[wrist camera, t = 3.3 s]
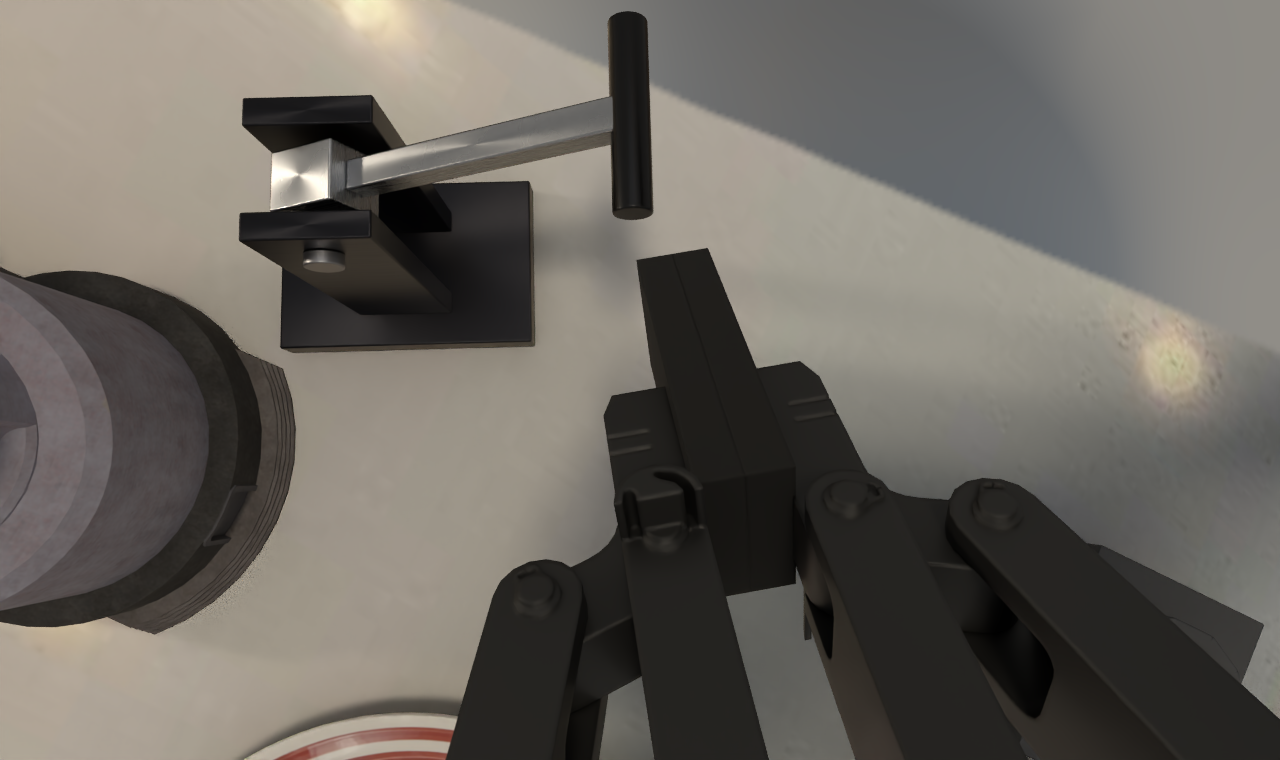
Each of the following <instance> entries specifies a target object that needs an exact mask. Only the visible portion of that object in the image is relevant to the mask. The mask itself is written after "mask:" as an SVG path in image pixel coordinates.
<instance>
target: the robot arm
mask: <svg viewBox="0 0 1280 760" xmlns="http://www.w3.org/2000/svg"><path fill="white" fill-rule="evenodd" d="M637 267H638V275H639V282H640V289H641V296H642V304H643V311H644V318H645V326H646V333H647V340H648V348H649V355H650V362H651V367H652V372H653V376H654V380H655V384H656V388H653V389H647V390H642V391H636V392H630V393H625V394H619V395H613V396H612V397H611V399H610V402H609V404H608V406H607V409H606V411H605V413H604V422H605V429H606V435H607V442H608V449H609V455H610V462H611V469H612V475H613V482H614V489H615V498H614V507H615V512H616V517H617V522H618V526H617V529H616V532H615V535H614V536H613V538H612V539H611V541H610V542H609V544H608V545H607V546H606V547H604V548H603V549H602V550H601V551H600V552H599V553H597V554H596V555H594V556H592V557H591V558H589V559H587V560H585V561H583V562H581V563H579V564H577V565H575V566H573V567H571V568H570V567H569V566H567V565H566V564H564V563H562V562H558V561H553V560H547V559H545V560H538V561H532V562H528V563H526V564H524V565H521V566H519V567H517V568H515V569H513V570H512V571H511V572H510V573H509V574H508V575H507V576H506V577H504V578H503V579H502V580H501V581H500V583H499V585H498V587H497V589H496V591H495V593H494V595H493V598H492V601H491V605H490V608H489V612H488V615H487V618H486V622H485V625H484V629H483V632H482V636H481V639H480V642H479V646H478V649H477V653H476V656H475V660H474V663H473V667H472V670H471V673H470V677H469V680H468V684H467V687H466V691H465V694H464V698H463V701H462V704H461V708H460V711H459V715H458V718H457V722H456V725H455V728H454V732H453V735H452V739H451V742H450V746H449V749H448V753H447V756H446V759H445V760H599V755H600V748H601V741H602V735H603V728H604V721H605V714H606V707H607V700H608V694H609V693H611V692H613V691H615V690H617V689H619V688H621V687H622V686H624V685H626V684H628V683H630V682H632V681H634V680H635V679H637V678H639V677H641V676H642V681H643V687H644V694H645V700H646V707H647V714H648V720H649V727H650V733H651V740H652V746H653V753H654V759H655V760H769V758H768V754H767V750H766V746H765V743H764V739H763V735H762V731H761V728H760V724H759V720H758V716H757V712H756V709H755V705H754V701H753V697H752V693H751V690H750V686H749V682H748V678H747V675H746V671H745V667H744V663H743V659H742V656H741V652H740V648H739V644H738V641H737V637H736V633H735V629H734V625H733V622H732V618H731V614H730V610H729V607H728V603H727V599H726V596H731V595H736V594H741V593H747V592H752V591H758V590H763V589H769V588H774V587H780V586H785V585H791V584H796V567H797V570H798V573H799V575H800V578H801V581H802V584H803V587H804V638H805V640H809V639H811V634H813V637H814V640H815V643H816V645H817V648H818V651H819V654H820V657H821V660H822V663H823V666H824V669H825V672H826V675H827V678H828V680H829V683H830V686H831V689H832V692H833V695H834V698H835V701H836V704H837V707H838V710H839V712H840V715H841V718H842V721H843V724H844V727H845V730H846V733H847V736H848V739H849V742H850V744H851V747H852V750H853V753H854V756H855V759H856V760H1028V758H1027V756H1026V755H1025V753H1024V751H1023V749H1022V747H1021V745H1020V743H1019V741H1018V739H1017V737H1016V735H1015V733H1014V731H1013V729H1012V727H1011V725H1010V723H1009V721H1010V722H1011V723H1012V725H1013V726H1014V727H1015V728H1016V730H1017V731H1018V732H1019V733H1020V735H1021V736H1022V737H1023V738H1024V740H1025V741H1026V742H1027V743H1028V744H1029V746H1030V747H1031V748H1032V749H1033V751H1034V752H1035V753H1036V754H1037V756H1038V757H1039V758H1040V759H1041V760H1280V719H1279V718H1278V717H1277V716H1276V715H1274V714H1273V713H1272V712H1271V711H1270V710H1269V709H1268V708H1267V707H1266V706H1265V705H1263V704H1262V703H1261V702H1260V701H1259V700H1258V699H1257V698H1256V697H1255V696H1254V695H1253V694H1251V693H1250V692H1249V691H1248V690H1247V689H1246V688H1245V687H1244V686H1243V685H1242V684H1240V683H1239V682H1238V681H1237V680H1236V679H1235V678H1234V677H1233V676H1232V675H1231V674H1229V673H1228V672H1227V671H1226V670H1225V669H1224V668H1223V667H1222V666H1221V665H1220V664H1219V663H1217V662H1216V661H1215V660H1214V659H1213V658H1212V657H1211V656H1210V655H1209V654H1208V653H1206V652H1205V651H1204V650H1203V649H1202V648H1201V647H1200V646H1199V645H1198V644H1197V643H1195V642H1194V641H1193V640H1192V639H1191V638H1190V637H1189V636H1188V635H1187V634H1186V633H1185V632H1183V631H1182V630H1181V629H1180V628H1179V627H1178V626H1177V625H1176V624H1175V623H1174V622H1172V621H1171V620H1170V619H1169V618H1168V617H1167V616H1166V615H1165V614H1164V613H1163V612H1161V611H1160V610H1159V609H1158V608H1157V607H1156V606H1155V605H1154V604H1153V603H1152V602H1151V601H1149V600H1148V599H1147V598H1146V597H1145V596H1144V595H1143V594H1142V593H1141V592H1140V591H1138V590H1137V589H1136V588H1135V587H1134V586H1133V585H1132V584H1131V583H1130V582H1129V581H1127V580H1126V579H1125V578H1124V577H1123V576H1122V575H1121V574H1120V573H1119V572H1118V571H1116V570H1115V569H1114V568H1113V567H1112V566H1111V565H1110V564H1109V563H1108V562H1107V561H1106V560H1104V559H1103V558H1102V557H1101V556H1100V555H1099V554H1098V553H1097V552H1096V551H1095V550H1093V549H1092V548H1091V547H1090V546H1089V545H1088V544H1087V543H1086V542H1085V541H1084V540H1082V539H1081V538H1080V537H1079V536H1078V535H1077V534H1076V533H1075V532H1074V531H1073V530H1072V529H1070V528H1069V527H1068V526H1067V525H1066V524H1065V523H1064V522H1063V521H1062V520H1061V519H1059V518H1058V517H1057V516H1056V515H1055V514H1054V513H1053V512H1052V511H1051V510H1050V509H1048V508H1047V507H1046V506H1045V505H1044V504H1043V503H1042V502H1041V501H1040V500H1039V499H1038V498H1036V497H1035V496H1034V495H1033V494H1031V493H1030V492H1028V491H1027V490H1025V489H1024V488H1022V487H1021V486H1019V485H1017V484H1014V483H1011V482H1008V481H1005V480H1002V479H990V478H981V479H976V480H971V481H967V482H965V483H964V484H962V485H961V486H959V487H958V488H956V489H955V490H954V492H953V494H952V496H951V498H950V499H949V500H942V499H929V498H917V497H911V496H905V495H902V494H899V493H896V492H893V491H890V490H889V489H888V488H887V487H886V485H885V484H884V483H883V482H882V481H881V480H879V479H877V478H876V477H874V476H872V475H871V474H869V473H868V472H867V470H866V469H865V467H864V465H863V463H862V461H861V459H860V457H859V455H858V453H857V451H856V449H855V447H854V445H853V443H852V441H851V439H850V437H849V435H848V433H847V431H846V429H845V427H844V425H843V423H842V421H841V419H840V417H839V415H838V414H837V413H836V409H835V407H834V405H833V403H832V401H831V399H829V395H828V393H827V391H826V389H825V387H824V385H823V383H822V381H821V379H820V377H819V376H818V375H817V374H816V373H814V372H813V371H812V370H811V369H809V368H808V367H807V366H805V365H804V364H803V363H801V362H800V361H798V362H792V363H786V364H780V365H775V366H769V367H763V368H757V369H756V366H755V364H754V361H753V359H752V356H751V354H750V351H749V349H748V346H747V344H746V341H745V339H744V336H743V334H742V331H741V329H740V326H739V324H738V322H737V319H736V317H735V314H734V312H733V309H732V307H731V304H730V302H729V299H728V297H727V294H726V292H725V289H724V287H723V284H722V282H721V279H720V277H719V275H718V272H717V270H716V267H715V265H714V262H713V260H712V257H711V255H710V252H709V250H708V248H705V249H699V250H693V251H687V252H681V253H676V254H670V255H664V256H658V257H652V258H646V259H640V260H637ZM1008 720H1009V721H1008Z"/></svg>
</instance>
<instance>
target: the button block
mask: <svg viewBox="0 0 1280 760" xmlns="http://www.w3.org/2000/svg"><path fill="white" fill-rule="evenodd" d="M1088 545H1089V546H1090V547H1091V548H1092V549H1093V550H1095V551H1096V552H1097V553H1098V554H1099V555H1100V556H1101V557H1102V558H1103V559H1104V560H1106V561H1107V562H1108V563H1109V564H1110V565H1111V566H1112V567H1113V568H1114V569H1115V570H1116V571H1118V572H1119V573H1120V574H1121V575H1122V576H1123V577H1124V578H1125V579H1126V580H1127V581H1129V582H1130V583H1131V584H1132V585H1133V586H1134V587H1135V588H1136V589H1137V590H1138V591H1140V592H1141V593H1142V594H1143V595H1144V596H1145V597H1146V598H1147V599H1148V600H1149V601H1151V602H1152V603H1153V604H1154V605H1155V606H1156V607H1157V608H1158V609H1159V610H1160V611H1161V612H1163V613H1164V614H1165V615H1166V616H1167V617H1168V618H1169V619H1170V620H1171V621H1172V622H1174V623H1175V624H1176V625H1177V626H1178V627H1179V628H1180V629H1181V630H1182V631H1183V632H1185V633H1186V634H1187V635H1188V636H1189V637H1190V638H1191V639H1192V640H1193V641H1194V642H1195V643H1197V644H1198V645H1199V646H1200V647H1201V648H1202V649H1203V650H1204V651H1205V652H1206V653H1208V654H1209V655H1210V656H1211V657H1212V658H1213V659H1214V660H1215V661H1216V662H1217V663H1219V664H1220V665H1221V666H1222V667H1223V668H1224V669H1225V670H1226V671H1227V672H1228V673H1229V674H1231V675H1232V676H1233V677H1234V678H1235V679H1236V680H1237V681H1238V682H1239V683H1240V684H1241V683H1242V680H1243V678H1244V675H1245V673H1246V670H1247V667H1248V665H1249V662H1250V660H1251V657H1252V655H1253V652H1254V649H1255V647H1256V644H1257V642H1258V639H1259V637H1260V634H1261V631H1262V629H1263V626H1264V625H1263V624H1262V623H1260V622H1258V621H1256V620H1254V619H1252V618H1250V617H1248V616H1246V615H1244V614H1242V613H1240V612H1237V611H1235V610H1233V609H1231V608H1229V607H1227V606H1225V605H1223V604H1221V603H1219V602H1217V601H1215V600H1213V599H1211V598H1209V597H1207V596H1205V595H1203V594H1201V593H1199V592H1197V591H1194V590H1192V589H1190V588H1188V587H1186V586H1184V585H1182V584H1180V583H1178V582H1176V581H1174V580H1172V579H1170V578H1168V577H1166V576H1164V575H1162V574H1160V573H1158V572H1156V571H1154V570H1151V569H1149V568H1147V567H1145V566H1143V565H1141V564H1139V563H1137V562H1135V561H1133V560H1131V559H1129V558H1127V557H1125V556H1123V555H1121V554H1119V553H1117V552H1115V551H1113V550H1111V549H1108V548H1106V547H1104V546H1102V545H1095V544H1088ZM1008 721H1009V720H1008ZM1009 723H1010V725H1011V727H1012V729H1013V731H1014V733H1015V735H1016V737H1017V739H1018V741H1019V743H1020V745H1021V747H1022V749H1023V751H1024V753H1025V755H1026V756H1028V757H1030V758H1032V759H1034V760H1041V759H1040V758H1039V757H1038V756H1037V754H1036V753H1035V752H1034V751H1033V749H1032V748H1031V747H1030V746H1029V744H1028V743H1027V742H1026V741H1025V740H1024V738H1023V737H1022V736H1021V735H1020V733H1019V732H1018V731H1017V730H1016V728H1015V727H1014V726H1013V725H1012V723H1011V722H1010V721H1009Z"/></svg>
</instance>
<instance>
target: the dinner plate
mask: <svg viewBox="0 0 1280 760" xmlns="http://www.w3.org/2000/svg"><path fill="white" fill-rule="evenodd" d="M457 718H458V716H454V715H446V714H436V713H409V712H401V713H385V714H375V715H367V716H360V717H355V718H350V719H345V720H341V721H337V722H332V723H328V724H324V725H321V726H317V727H314V728H311V729H308V730H305V731H303V732H300V733H297V734H295V735H292V736H290V737H287V738H285V739H283V740H280V741H278V742H276V743H274V744H272V745H270V746H267V747H265V748H263V749H261V750H260V751H258V752H256V753H254V754H252V755H251V756H249V757H247V758H245V759H244V760H445V759H446V756H447V753H448V749H449V746H450V742H451V739H452V735H453V732H454V728H455V725H456V722H457Z"/></svg>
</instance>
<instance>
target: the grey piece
mask: <svg viewBox="0 0 1280 760" xmlns="http://www.w3.org/2000/svg"><path fill="white" fill-rule="evenodd" d="M294 452H295V422H294V414H293V407H292V399H291V395H290V392H289V389H288V385H287V382H286V379H285V375H284V372H283V369H281V368H279V367H277V366H275V365H272V364H270V363H268V362H265V361H263V360H261V359H259V358H256V357H254V356H252V355H249V354H247V353H245V352H243V351H240V350H239V349H238V347H237V346H236V345H235V344H234V343H233V341H232V340H231V339H230V338H229V337H228V335H227V334H226V333H225V332H224V331H223V330H222V328H220V327H219V326H218V325H217V324H215V323H214V322H213V321H212V320H210V319H209V318H208V317H207V316H205V315H204V314H203V313H202V312H201V311H199V310H197V309H195V308H193V307H192V306H190V305H188V304H186V303H184V302H182V301H180V300H178V299H176V298H175V297H172V296H169V295H167V294H164V293H162V292H159V291H156V290H154V289H151V288H149V287H146V286H143V285H141V284H138V283H136V282H133V281H130V280H128V279H125V278H122V277H118V276H113V275H108V274H103V273H98V272H86V271H61V272H51V273H42V274H37V275H34V276H30V277H26V278H23V277H21V276H18V275H16V274H14V273H12V272H9V271H7V270H5V269H2V268H0V622H4V623H10V624H15V625H21V626H26V627H59V626H66V625H74V624H81V623H86V622H90V621H93V620H97V619H101V618H105V617H108V618H111V619H113V620H115V621H117V622H119V623H122V624H124V625H126V626H128V627H130V628H131V627H133V628H135V629H139V630H141V631H146V632H148V633H152V634H157V633H159V632H161V631H163V630H165V629H167V628H170V627H172V626H174V625H176V624H178V623H180V622H183V621H185V620H187V619H188V618H190V617H191V616H193V615H194V614H196V613H197V612H199V611H200V610H202V609H203V608H205V607H206V606H208V605H209V604H211V603H212V602H214V601H215V600H216V599H217V598H218V597H219V596H220V595H221V594H222V593H223V592H225V591H226V590H227V589H228V588H229V587H230V586H231V585H232V584H233V583H234V582H235V581H237V580H238V579H239V578H240V576H241V575H242V574H243V573H244V571H245V570H246V569H247V567H248V566H249V565H250V564H251V562H252V561H253V560H254V559H255V557H256V556H257V555H258V554H259V552H260V551H261V549H262V547H263V545H264V544H265V542H266V540H267V538H268V537H269V535H270V533H271V531H272V530H273V528H274V526H275V524H276V522H277V520H278V517H279V514H280V512H281V509H282V506H283V504H284V501H285V498H286V496H287V493H288V489H289V484H290V479H291V474H292V469H293V464H294Z"/></svg>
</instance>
